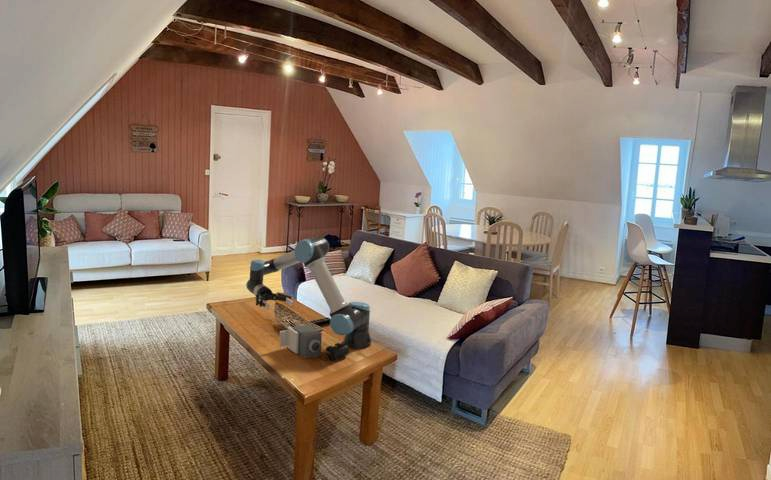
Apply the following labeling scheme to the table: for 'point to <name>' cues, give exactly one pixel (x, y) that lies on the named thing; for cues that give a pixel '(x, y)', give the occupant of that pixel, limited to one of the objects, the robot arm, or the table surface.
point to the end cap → (337, 351)
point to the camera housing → (308, 341)
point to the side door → (289, 339)
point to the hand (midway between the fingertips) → (280, 305)
